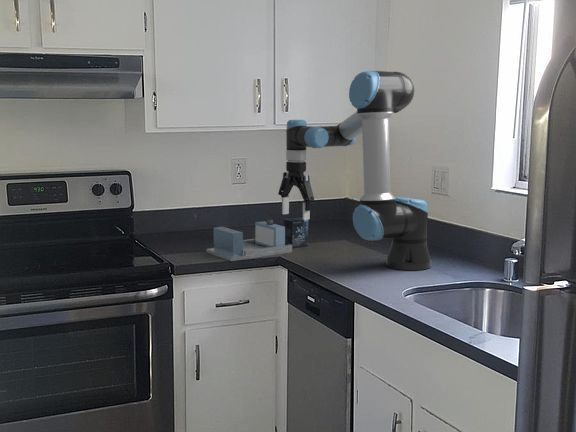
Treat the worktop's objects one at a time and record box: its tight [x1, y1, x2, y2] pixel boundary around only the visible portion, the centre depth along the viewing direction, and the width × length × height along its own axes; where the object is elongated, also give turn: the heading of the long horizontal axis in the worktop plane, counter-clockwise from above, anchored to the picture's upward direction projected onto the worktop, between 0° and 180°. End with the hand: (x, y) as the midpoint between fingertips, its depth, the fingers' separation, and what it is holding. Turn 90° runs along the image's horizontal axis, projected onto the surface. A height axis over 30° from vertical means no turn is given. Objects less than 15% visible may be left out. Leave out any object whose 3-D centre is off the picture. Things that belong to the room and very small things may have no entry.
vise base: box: [206, 226, 293, 262], centre depth 273 cm, size 18×26×9 cm
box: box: [283, 216, 309, 249], centre depth 285 cm, size 8×6×11 cm
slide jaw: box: [254, 219, 285, 247], centre depth 278 cm, size 14×4×10 cm, turn 35°
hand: (295, 216), depth 284 cm, fingers open, 13 cm apart
